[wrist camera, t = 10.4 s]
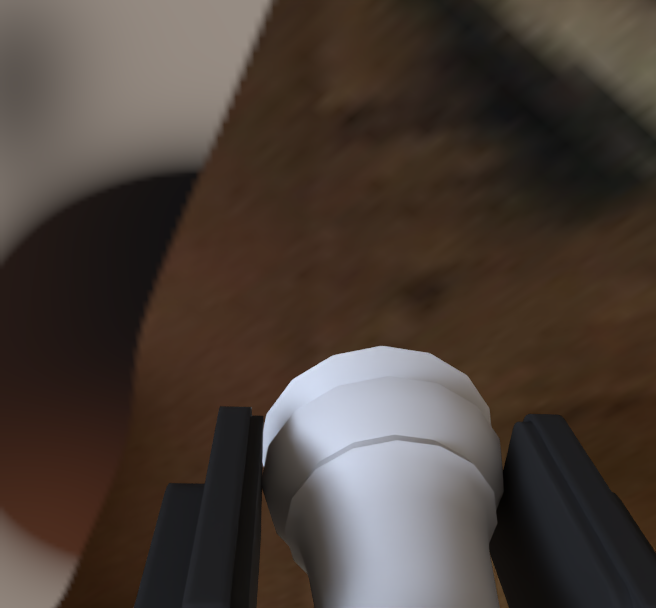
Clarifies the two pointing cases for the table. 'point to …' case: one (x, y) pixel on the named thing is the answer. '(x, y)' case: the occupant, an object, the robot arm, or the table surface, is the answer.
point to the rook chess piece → (385, 481)
